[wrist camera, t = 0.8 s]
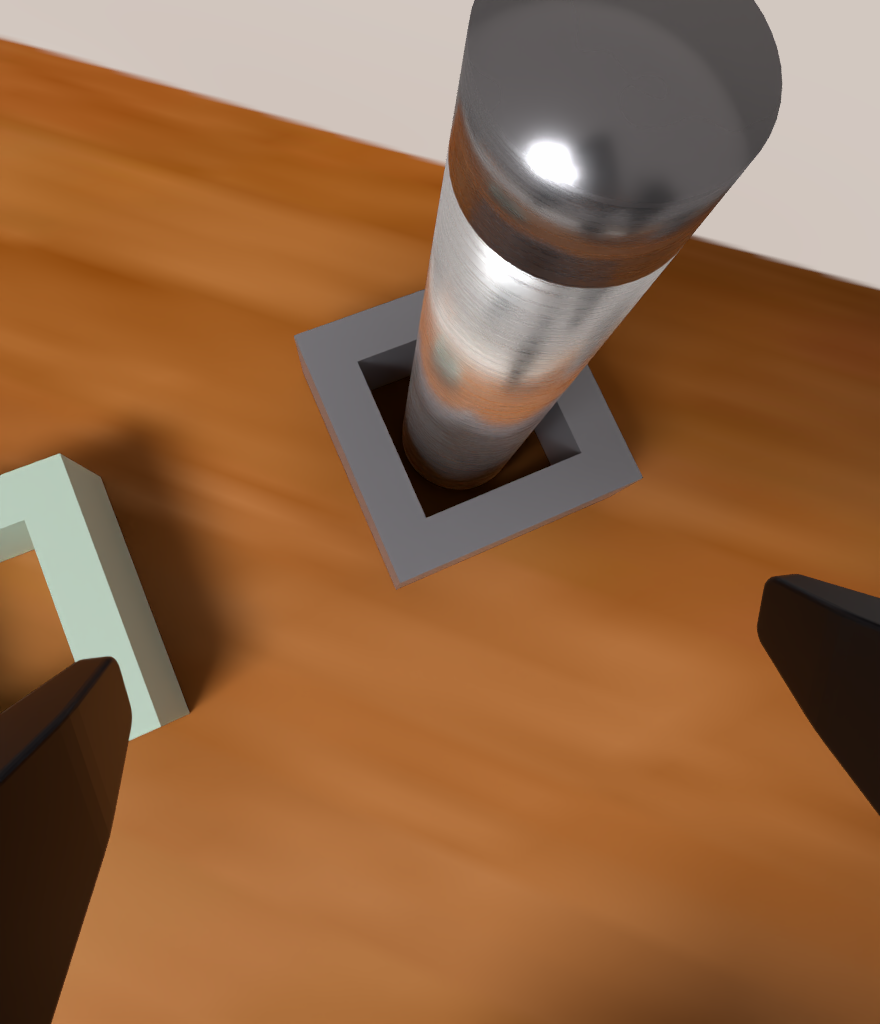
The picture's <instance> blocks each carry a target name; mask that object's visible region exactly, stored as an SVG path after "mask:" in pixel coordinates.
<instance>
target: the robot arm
mask: <svg viewBox="0 0 880 1024" xmlns="http://www.w3.org/2000/svg"><path fill="white" fill-rule="evenodd" d="M757 632H758V637H759V639H760V642H761V644H762V646H763V647H764V649H765V650H766V652H767V654H768V655H769V657H770V659H771V660H772V662H773V663H774V665H775V667H776V668H777V670H778V672H779V673H780V675H781V676H782V678H783V680H784V681H785V683H786V685H787V686H788V688H789V689H790V691H791V693H792V694H793V696H794V698H795V699H796V701H797V702H798V704H799V706H800V707H801V709H802V711H803V712H804V714H805V715H806V717H807V718H808V720H809V722H810V723H811V725H812V726H813V728H814V729H815V731H816V732H817V733H818V735H819V736H820V738H821V739H822V740H823V742H824V743H825V744H826V746H827V747H828V748H829V750H830V751H831V752H832V754H833V755H834V756H835V758H836V759H837V760H838V762H839V763H840V764H841V766H842V767H843V768H844V770H845V771H846V772H847V773H848V775H849V776H850V777H851V779H852V780H853V781H854V783H855V784H856V785H857V787H858V788H859V789H860V791H861V792H862V793H863V795H864V796H865V797H866V799H867V800H868V801H869V803H870V804H871V805H872V806H873V808H874V809H875V810H876V812H877V813H878V814H879V816H880V598H877V597H874V596H871V595H867V594H864V593H860V592H857V591H854V590H850V589H847V588H844V587H840V586H837V585H834V584H830V583H827V582H823V581H820V580H817V579H813V578H810V577H807V576H803V575H799V574H790V575H782V576H774V577H771V578H770V579H768V580H767V582H766V583H765V586H764V590H763V595H762V601H761V606H760V612H759V617H758V623H757ZM131 726H132V710H131V705H130V701H129V698H128V694H127V691H126V687H125V684H124V680H123V677H122V673H121V670H120V667H119V664H118V662H117V661H116V659H114V658H113V657H111V656H105V657H96V658H88V659H82V660H78V661H77V662H75V663H74V664H72V665H71V666H69V667H68V668H66V669H65V670H63V671H62V672H60V673H59V674H58V675H56V676H55V677H53V678H52V679H50V680H49V681H47V682H46V683H44V684H43V685H41V686H40V687H39V688H37V689H36V690H34V691H33V692H31V693H30V694H28V695H27V696H25V697H24V698H22V699H21V700H20V701H18V702H17V703H15V704H14V705H12V706H11V707H9V708H8V709H6V710H5V711H3V712H2V713H0V1024H51V1022H52V1019H53V1016H54V1013H55V1010H56V1007H57V1004H58V1000H59V997H60V994H61V991H62V988H63V985H64V981H65V978H66V975H67V972H68V969H69V966H70V962H71V959H72V956H73V953H74V950H75V947H76V943H77V940H78V937H79V934H80V931H81V928H82V924H83V921H84V918H85V915H86V912H87V909H88V905H89V902H90V899H91V896H92V893H93V890H94V887H95V883H96V880H97V877H98V874H99V871H100V868H101V864H102V861H103V858H104V855H105V851H106V848H107V844H108V841H109V837H110V833H111V829H112V824H113V820H114V815H115V810H116V804H117V799H118V794H119V789H120V784H121V778H122V773H123V768H124V763H125V758H126V752H127V747H128V742H129V737H130V732H131Z"/></svg>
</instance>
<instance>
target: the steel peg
mask: <svg viewBox="0 0 880 1024" xmlns="http://www.w3.org/2000/svg"><path fill="white" fill-rule="evenodd" d="M781 91H782V75H781V64H780V59H779V55H778V50H777V46H776V44H775V41H774V38H773V35H772V32H771V30H770V28H769V26H768V24H767V22H766V19H765V17H764V15H763V14H762V12H761V11H760V9H759V7H758V6H757V4H756V3H755V1H754V0H475V1H474V4H473V6H472V10H471V15H470V20H469V26H468V32H467V38H466V44H465V50H464V56H463V62H462V69H461V74H460V80H459V86H458V92H457V99H456V105H455V111H454V117H453V123H452V129H451V135H450V141H449V147H448V153H447V159H446V165H445V171H444V177H443V183H442V190H441V196H440V202H439V208H438V214H437V220H436V226H435V232H434V238H433V244H432V250H431V256H430V262H429V269H428V275H427V281H426V287H425V293H424V299H423V305H422V311H421V317H420V323H419V329H418V335H417V341H416V348H415V354H414V360H413V366H412V372H411V378H410V384H409V390H408V396H407V402H406V408H405V414H404V420H403V427H402V442H403V447H404V450H405V453H406V456H407V458H408V460H409V461H410V463H411V465H412V466H413V467H414V469H415V470H416V471H417V472H418V473H419V474H420V475H421V476H423V477H424V478H425V479H426V480H428V481H430V482H431V483H433V484H435V485H437V486H440V487H444V488H448V489H456V490H462V489H470V488H474V487H477V486H480V485H482V484H484V483H486V482H488V481H489V480H491V479H492V478H494V477H495V476H496V475H497V474H498V473H499V472H500V470H501V469H502V468H503V467H504V466H505V464H506V463H507V462H508V461H509V459H510V458H511V457H512V456H513V455H514V453H515V452H516V451H517V450H518V448H519V447H520V446H521V445H522V443H523V442H524V441H525V440H526V439H527V437H528V436H529V435H530V434H531V432H532V431H533V430H534V429H535V428H536V426H537V425H538V424H539V423H540V421H541V420H542V419H543V418H544V416H545V415H546V414H547V413H548V412H549V410H550V409H551V408H552V407H553V405H554V404H555V403H556V402H557V400H558V399H559V398H560V397H561V396H562V394H563V393H564V392H565V391H566V389H567V388H568V387H569V386H570V384H571V383H572V382H573V381H574V380H575V378H576V377H577V376H578V375H579V373H580V372H581V371H582V370H583V368H584V367H585V366H586V365H587V364H588V362H589V361H590V360H591V359H592V357H593V356H594V355H595V354H596V352H597V351H598V350H599V349H600V348H601V346H602V345H603V344H604V343H605V341H606V340H607V339H608V338H609V336H610V335H611V334H612V333H613V332H614V330H615V329H616V328H617V327H618V325H619V324H620V323H621V322H622V321H623V319H624V318H625V317H626V316H627V314H628V313H629V312H630V311H631V309H632V308H633V307H634V306H635V305H636V303H637V302H638V301H639V300H640V298H641V297H642V296H643V295H644V293H645V292H646V291H647V290H648V289H649V287H650V286H651V285H652V284H653V282H654V281H655V280H656V279H657V277H658V276H659V275H660V274H661V273H662V271H663V270H664V269H665V268H666V266H667V265H668V264H669V263H670V261H671V260H672V259H673V258H674V257H675V255H676V254H677V253H678V252H679V250H680V249H681V248H682V247H683V245H684V244H685V243H686V242H687V241H688V239H689V238H690V237H691V236H692V234H693V233H694V232H695V231H696V229H697V228H698V227H699V226H700V225H701V223H702V222H703V221H704V220H705V218H706V217H707V216H708V215H709V213H710V212H711V211H712V210H713V209H714V207H715V206H716V205H717V204H718V202H719V201H720V200H721V199H722V197H723V196H724V195H725V193H727V191H728V190H729V189H730V188H731V186H732V185H733V184H734V183H735V182H736V180H737V179H738V178H739V177H740V175H741V174H742V173H743V172H744V170H745V169H746V168H747V167H748V165H749V164H750V163H751V162H752V161H753V159H754V158H755V157H756V155H757V154H758V153H759V152H760V151H761V149H762V147H763V146H764V144H765V143H766V141H767V139H768V138H769V136H770V134H771V131H772V129H773V127H774V124H775V122H776V119H777V115H778V111H779V107H780V103H781Z"/></svg>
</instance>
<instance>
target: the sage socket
mask: <svg viewBox="0 0 880 1024" xmlns="http://www.w3.org/2000/svg"><path fill="white" fill-rule="evenodd" d="M33 549H35V551H36V554H37V557H38V559H39V562H40V565H41V568H42V571H43V573H44V576H45V579H46V582H47V585H48V587H49V590H50V593H51V596H52V599H53V601H54V604H55V607H56V610H57V612H58V615H59V618H60V621H61V624H62V626H63V629H64V632H65V635H66V638H67V640H68V643H69V646H70V649H71V652H72V654H73V657H74V660H75V662H77V661H78V660H82V659H88V658H96V657H105V656H111V657H113V658H114V659H116V661H117V662H118V664H119V667H120V670H121V673H122V677H123V680H124V684H125V687H126V691H127V694H128V698H129V701H130V705H131V710H132V726H131V732H130V737H129V741H130V740H132V739H134V738H136V737H139V736H141V735H143V734H145V733H148V732H150V731H152V730H154V729H157V728H159V727H161V726H163V725H166V724H168V723H170V722H172V721H174V720H177V719H179V718H181V717H183V716H185V715H188V714H190V713H189V710H188V707H187V705H186V702H185V699H184V697H183V694H182V691H181V689H180V686H179V684H178V681H177V678H176V676H175V673H174V670H173V668H172V665H171V662H170V660H169V657H168V654H167V652H166V649H165V646H164V644H163V641H162V638H161V636H160V633H159V630H158V628H157V625H156V623H155V620H154V617H153V615H152V612H151V609H150V607H149V604H148V601H147V599H146V596H145V593H144V591H143V588H142V585H141V583H140V580H139V577H138V575H137V572H136V569H135V567H134V564H133V562H132V559H131V556H130V554H129V551H128V548H127V546H126V543H125V540H124V538H123V535H122V532H121V530H120V527H119V524H118V522H117V519H116V516H115V514H114V511H113V508H112V506H111V503H110V500H109V498H108V495H107V493H106V490H105V487H104V485H103V482H102V479H101V477H100V476H98V475H96V474H95V473H93V472H91V471H89V470H88V469H86V468H84V467H82V466H81V465H79V464H77V463H76V462H74V461H72V460H70V459H69V458H67V457H65V456H64V455H62V454H60V453H59V454H57V455H54V456H51V457H48V458H46V459H43V460H40V461H37V462H35V463H32V464H29V465H26V466H24V467H21V468H18V469H15V470H13V471H10V472H7V473H4V474H2V475H0V562H2V561H5V560H7V559H10V558H13V557H15V556H18V555H20V554H23V553H26V552H28V551H31V550H33Z"/></svg>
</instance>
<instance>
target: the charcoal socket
mask: <svg viewBox="0 0 880 1024" xmlns="http://www.w3.org/2000/svg"><path fill="white" fill-rule="evenodd" d="M424 293H425V289H424V290H421V291H418V292H416V293H413V294H410V295H407V296H404V297H401V298H399V299H396V300H393V301H390V302H387V303H385V304H382V305H379V306H376V307H373V308H370V309H368V310H365V311H362V312H359V313H356V314H354V315H351V316H348V317H345V318H342V319H339V320H337V321H334V322H331V323H328V324H325V325H323V326H320V327H317V328H314V329H311V330H308V331H306V332H303V333H300V334H297V335H294V338H295V342H296V346H297V350H298V354H299V358H300V362H301V366H302V370H303V373H304V376H305V378H306V380H307V383H308V385H309V387H310V390H311V392H312V394H313V397H314V399H315V401H316V404H317V406H318V408H319V411H320V413H321V415H322V418H323V420H324V422H325V425H326V427H327V429H328V432H329V434H330V436H331V439H332V441H333V443H334V446H335V448H336V450H337V453H338V455H339V457H340V460H341V462H342V464H343V467H344V469H345V471H346V474H347V476H348V478H349V481H350V483H351V485H352V488H353V490H354V492H355V495H356V497H357V499H358V502H359V504H360V506H361V509H362V511H363V513H364V516H365V518H366V520H367V523H368V525H369V527H370V530H371V532H372V534H373V537H374V539H375V542H376V544H377V546H378V549H379V551H380V553H381V556H382V558H383V560H384V563H385V565H386V567H387V570H388V572H389V574H390V577H391V579H392V581H393V584H394V586H395V588H396V589H399V588H401V587H403V586H406V585H408V584H410V583H413V582H415V581H417V580H419V579H422V578H424V577H426V576H429V575H431V574H433V573H436V572H438V571H440V570H442V569H445V568H447V567H449V566H452V565H454V564H456V563H459V562H461V561H463V560H465V559H468V558H470V557H472V556H475V555H477V554H479V553H482V552H484V551H486V550H488V549H491V548H493V547H495V546H498V545H500V544H502V543H505V542H507V541H509V540H511V539H514V538H516V537H518V536H521V535H523V534H525V533H527V532H530V531H532V530H534V529H537V528H539V527H541V526H544V525H546V524H548V523H550V522H553V521H555V520H557V519H560V518H562V517H564V516H567V515H569V514H571V513H573V512H576V511H578V510H580V509H583V508H585V507H587V506H590V505H592V504H594V503H596V502H599V501H601V500H603V499H606V498H608V497H610V496H612V495H614V494H615V493H617V492H619V491H621V490H622V489H624V488H626V487H628V486H630V485H631V484H633V483H635V482H637V481H638V480H640V479H642V478H643V477H642V475H641V473H640V471H639V469H638V467H637V465H636V463H635V460H634V458H633V456H632V454H631V452H630V450H629V448H628V446H627V444H626V442H625V440H624V438H623V436H622V434H621V432H620V430H619V428H618V426H617V424H616V422H615V420H614V417H613V415H612V413H611V411H610V409H609V407H608V405H607V403H606V401H605V399H604V397H603V395H602V393H601V391H600V389H599V387H598V385H597V383H596V381H595V379H594V376H593V374H592V372H591V370H590V368H589V366H588V364H587V365H586V366H585V367H584V368H583V370H582V371H581V372H580V373H579V375H578V376H577V377H576V378H575V380H574V381H573V382H572V383H571V384H570V386H569V387H568V388H567V389H566V391H565V392H564V393H563V394H562V396H561V397H560V398H559V399H558V400H557V402H556V403H555V404H554V405H553V407H552V408H551V409H550V410H549V412H548V413H547V414H546V415H545V416H544V418H543V419H542V420H541V421H540V423H539V424H538V425H537V426H536V428H535V429H534V430H535V433H536V435H537V437H538V439H539V441H540V443H541V445H542V447H543V450H544V452H545V454H546V456H547V458H548V460H549V462H550V464H551V466H549V467H547V468H544V469H542V470H540V471H537V472H535V473H532V474H530V475H528V476H525V477H523V478H520V479H518V480H516V481H513V482H511V483H508V484H506V485H504V486H501V487H499V488H497V489H494V490H492V491H489V492H487V493H485V494H482V495H480V496H477V497H475V498H473V499H470V500H468V501H465V502H463V503H461V504H458V505H456V506H454V507H451V508H449V509H446V510H444V511H442V512H439V513H437V514H434V515H432V516H430V517H427V518H426V517H425V514H424V512H423V510H422V507H421V505H420V503H419V501H418V498H417V496H416V494H415V492H414V489H413V487H412V485H411V482H410V480H409V478H408V476H407V473H406V471H405V469H404V467H403V464H402V462H401V460H400V457H399V455H398V453H397V451H396V448H395V446H394V444H393V442H392V439H391V437H390V435H389V432H388V430H387V428H386V426H385V423H384V421H383V419H382V417H381V414H380V412H379V410H378V407H377V405H376V403H375V401H374V398H373V396H372V394H371V392H370V391H371V390H373V389H376V388H379V387H381V386H384V385H387V384H389V383H392V382H395V381H397V380H400V379H403V378H405V377H408V376H411V372H412V366H413V360H414V354H415V348H416V341H417V335H418V329H419V323H420V317H421V311H422V305H423V299H424Z"/></svg>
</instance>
